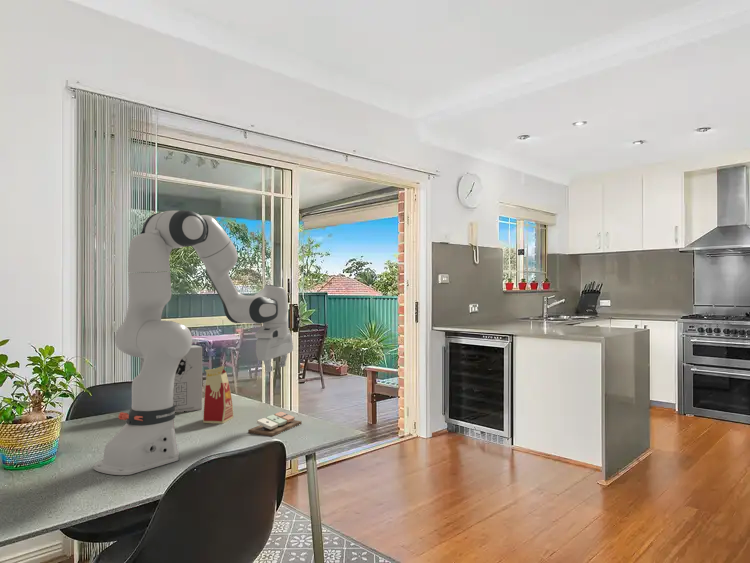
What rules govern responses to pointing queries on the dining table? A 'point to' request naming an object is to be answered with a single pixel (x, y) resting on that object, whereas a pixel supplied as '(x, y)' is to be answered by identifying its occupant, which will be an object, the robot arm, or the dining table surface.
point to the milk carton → (217, 397)
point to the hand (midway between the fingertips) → (276, 369)
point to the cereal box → (188, 381)
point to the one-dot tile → (267, 423)
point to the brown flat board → (274, 431)
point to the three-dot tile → (285, 416)
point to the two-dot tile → (276, 420)
